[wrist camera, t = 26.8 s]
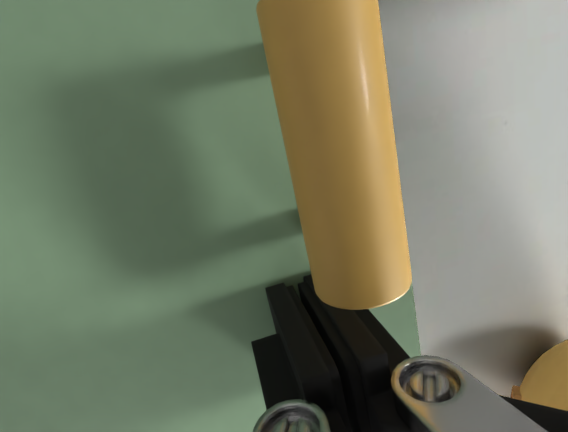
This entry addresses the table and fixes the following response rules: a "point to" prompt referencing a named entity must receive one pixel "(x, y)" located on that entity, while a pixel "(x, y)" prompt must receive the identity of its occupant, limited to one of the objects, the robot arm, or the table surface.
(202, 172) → the lid
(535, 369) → the stress ball
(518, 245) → the table surface
